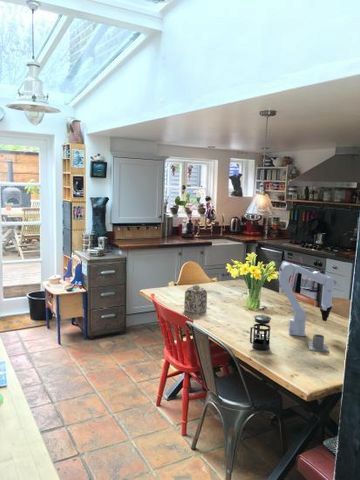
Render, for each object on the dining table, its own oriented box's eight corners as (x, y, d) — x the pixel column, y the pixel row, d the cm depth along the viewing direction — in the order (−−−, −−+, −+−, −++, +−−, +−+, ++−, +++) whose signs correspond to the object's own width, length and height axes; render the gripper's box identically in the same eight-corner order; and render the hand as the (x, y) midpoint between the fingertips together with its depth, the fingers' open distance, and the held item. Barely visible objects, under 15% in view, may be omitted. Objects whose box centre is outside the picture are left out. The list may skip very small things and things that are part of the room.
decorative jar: (197, 314, 274) (198, 288, 272) (183, 311, 281) (184, 285, 279) (207, 310, 284) (208, 285, 281) (193, 307, 290) (194, 282, 288)
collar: (322, 349, 218) (323, 338, 217) (311, 347, 220) (312, 336, 219) (323, 345, 222) (324, 335, 222) (313, 343, 225) (314, 333, 224)
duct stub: (309, 350, 218) (309, 341, 217) (307, 343, 227) (308, 334, 227) (328, 352, 215) (329, 343, 215) (326, 345, 225) (327, 336, 224)
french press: (266, 343, 226) (268, 303, 223) (273, 350, 217) (276, 308, 214) (246, 344, 223) (248, 304, 220) (253, 351, 214) (255, 309, 211)
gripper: (332, 300, 230) (330, 323, 232) (335, 294, 243) (334, 316, 245) (319, 298, 233) (318, 321, 235) (323, 293, 246) (321, 314, 248)
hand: (325, 319), depth 240 cm, fingers open, 7 cm apart
